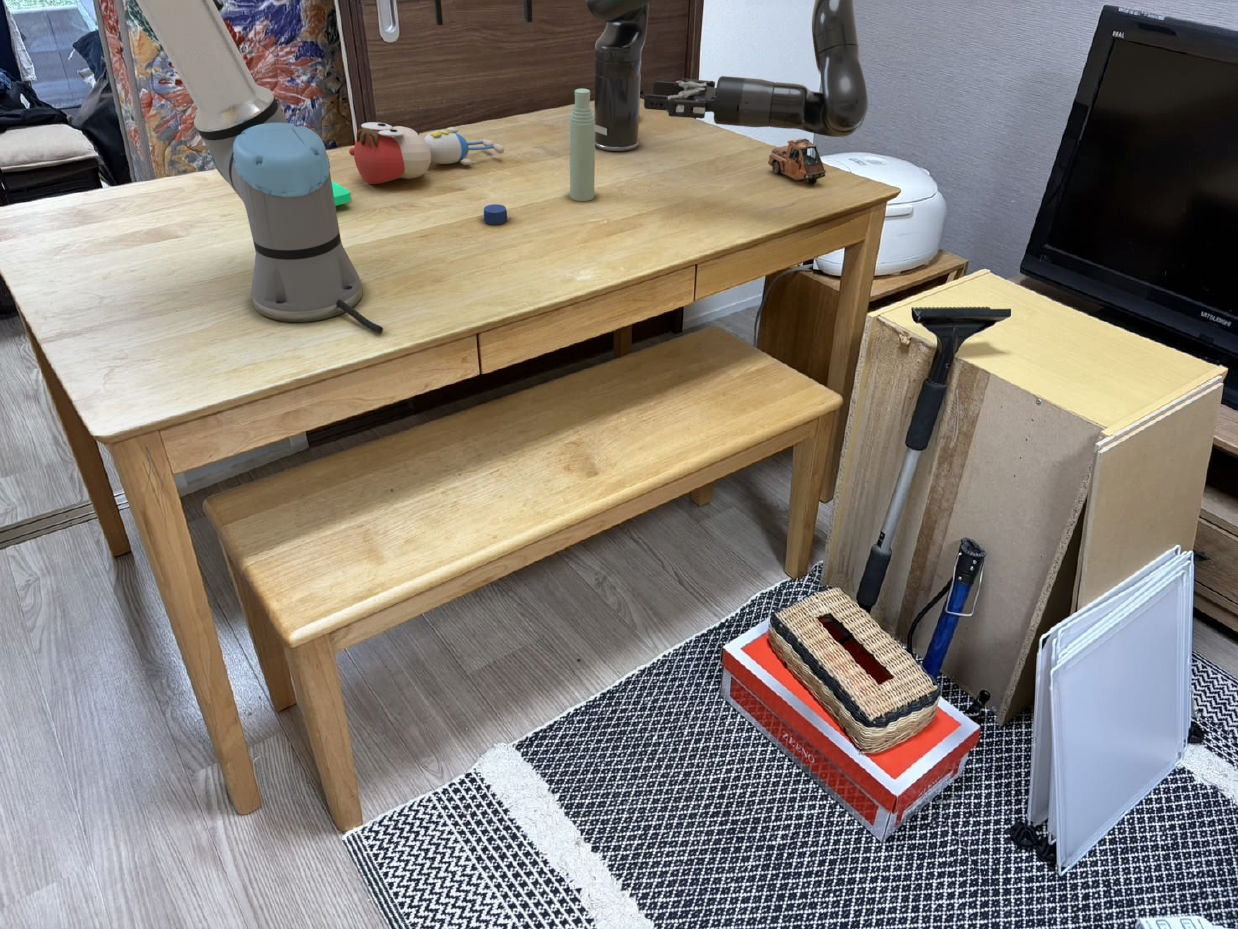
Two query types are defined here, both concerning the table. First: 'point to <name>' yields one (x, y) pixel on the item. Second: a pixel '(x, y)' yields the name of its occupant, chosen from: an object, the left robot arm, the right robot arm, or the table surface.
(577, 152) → the bottle
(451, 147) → the toy
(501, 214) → the cap
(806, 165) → the toy car
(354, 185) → the table surface
